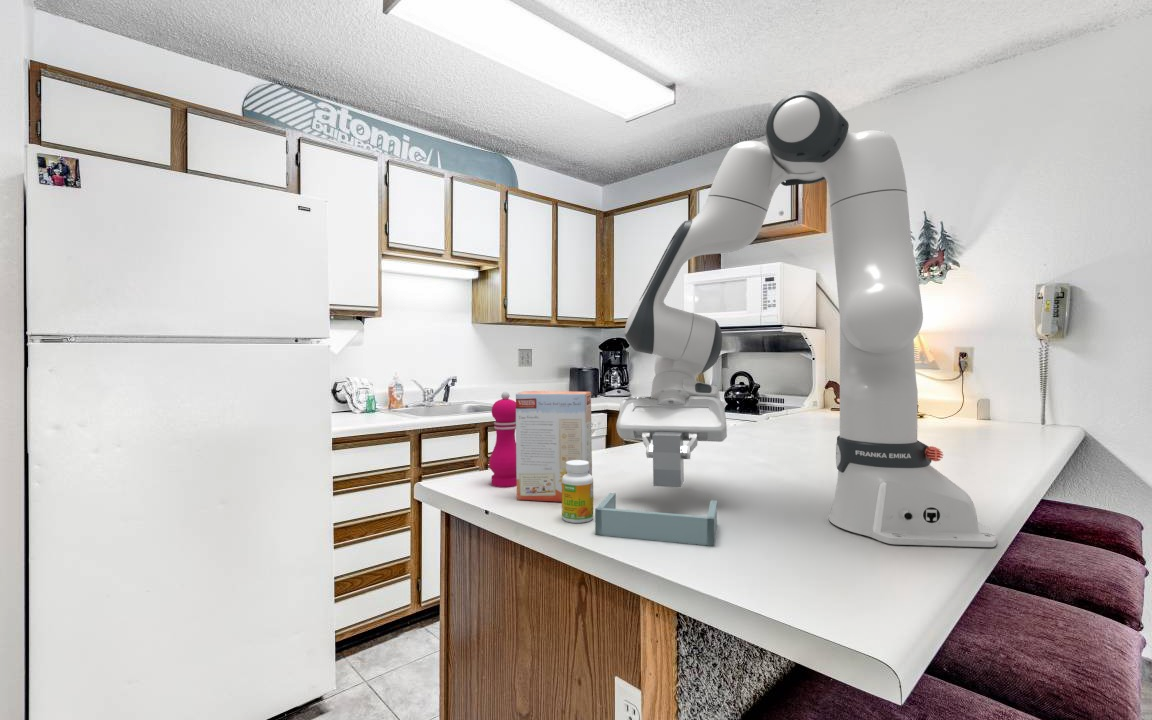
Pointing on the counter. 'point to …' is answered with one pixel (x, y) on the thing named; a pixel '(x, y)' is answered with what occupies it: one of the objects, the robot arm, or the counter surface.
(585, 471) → the supplement bottle
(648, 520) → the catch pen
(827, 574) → the counter surface
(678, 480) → the tile stack
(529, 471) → the cracker box
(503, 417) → the pepper mill
